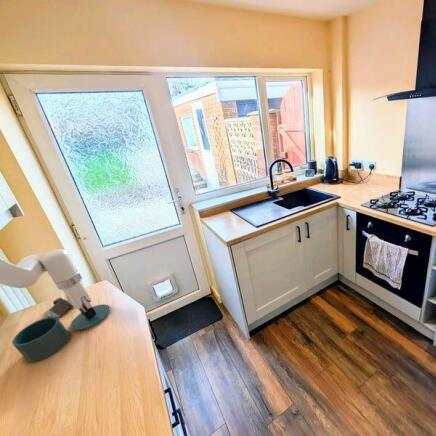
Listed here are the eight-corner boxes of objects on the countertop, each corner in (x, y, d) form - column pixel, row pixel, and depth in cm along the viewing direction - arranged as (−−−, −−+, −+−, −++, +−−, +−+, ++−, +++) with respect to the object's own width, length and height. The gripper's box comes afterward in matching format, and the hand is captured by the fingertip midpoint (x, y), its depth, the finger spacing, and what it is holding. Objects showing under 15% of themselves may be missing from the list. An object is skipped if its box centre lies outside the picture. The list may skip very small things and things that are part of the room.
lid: (80, 336, 94) (72, 324, 91) (66, 324, 101) (58, 312, 98) (116, 312, 104) (110, 300, 102) (101, 302, 111) (95, 291, 108)
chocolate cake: (39, 316, 108) (35, 308, 100) (53, 301, 113) (51, 293, 105) (62, 325, 110) (60, 318, 102) (75, 310, 115) (74, 302, 107)
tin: (32, 368, 84) (18, 351, 80) (21, 353, 90) (7, 337, 86) (74, 339, 93) (64, 323, 90) (62, 327, 99) (51, 312, 96)
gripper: (48, 280, 95) (71, 315, 103) (65, 292, 87) (88, 329, 95) (71, 269, 101) (91, 303, 109) (89, 279, 93) (109, 315, 101)
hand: (89, 314), depth 102 cm, fingers closed on lid, 3 cm apart
